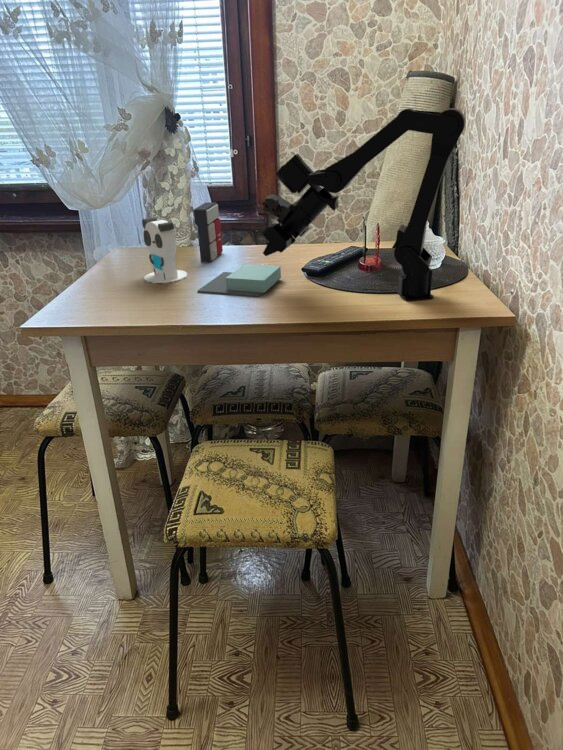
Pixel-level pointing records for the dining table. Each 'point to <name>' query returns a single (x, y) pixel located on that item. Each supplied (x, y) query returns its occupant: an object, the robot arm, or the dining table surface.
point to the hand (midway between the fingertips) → (264, 254)
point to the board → (253, 278)
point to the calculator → (208, 231)
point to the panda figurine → (161, 251)
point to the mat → (224, 287)
